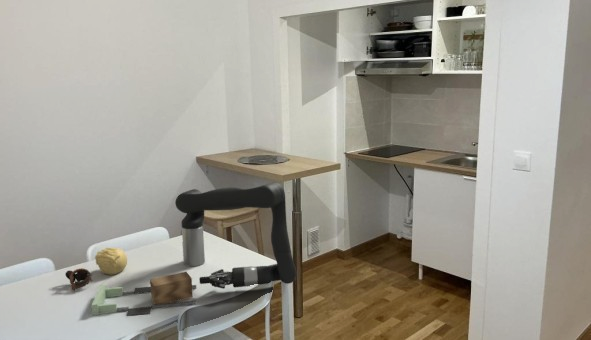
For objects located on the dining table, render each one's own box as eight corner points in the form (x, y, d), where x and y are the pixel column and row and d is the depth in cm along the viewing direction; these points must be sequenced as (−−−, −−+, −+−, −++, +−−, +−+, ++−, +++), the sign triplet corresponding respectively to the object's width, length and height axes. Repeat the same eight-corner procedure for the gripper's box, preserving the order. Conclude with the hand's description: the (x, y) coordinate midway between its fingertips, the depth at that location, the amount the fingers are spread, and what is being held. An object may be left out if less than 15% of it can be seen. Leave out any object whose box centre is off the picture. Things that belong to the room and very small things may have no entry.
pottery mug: (99, 281, 200) (96, 269, 195) (85, 300, 193) (82, 288, 188) (73, 272, 201) (69, 260, 196) (58, 290, 194) (54, 278, 189)
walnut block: (155, 306, 178) (154, 286, 176) (151, 298, 184) (149, 279, 182) (192, 297, 184) (191, 278, 183) (187, 290, 190) (186, 271, 189)
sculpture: (92, 275, 205) (90, 251, 203) (112, 264, 216) (110, 241, 214) (113, 279, 201) (111, 254, 199) (133, 268, 212) (131, 244, 210)
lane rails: (116, 311, 174) (116, 309, 174) (123, 293, 188) (122, 291, 187) (195, 304, 179) (195, 301, 179) (196, 287, 193) (196, 284, 192)
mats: (126, 316, 171) (126, 315, 171) (135, 288, 192) (134, 287, 192) (150, 313, 172) (150, 312, 172) (155, 286, 193) (155, 286, 193)
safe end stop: (92, 315, 172) (91, 305, 171) (101, 294, 187) (100, 285, 186) (116, 313, 173) (115, 302, 172) (123, 292, 188) (122, 283, 188)
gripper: (243, 261, 193) (199, 264, 190) (246, 274, 181) (198, 278, 178) (243, 278, 195) (200, 282, 192) (246, 293, 182) (199, 297, 179)
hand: (199, 280), depth 185 cm, fingers closed
